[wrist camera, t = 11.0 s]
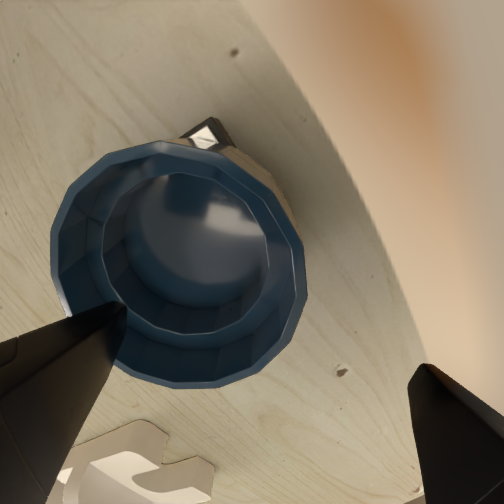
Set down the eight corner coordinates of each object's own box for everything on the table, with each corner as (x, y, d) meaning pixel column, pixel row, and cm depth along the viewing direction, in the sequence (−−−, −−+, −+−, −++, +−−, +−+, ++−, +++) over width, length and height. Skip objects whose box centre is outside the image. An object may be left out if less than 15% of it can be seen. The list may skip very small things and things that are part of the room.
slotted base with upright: (220, 469, 26) (208, 565, 16) (119, 493, 30) (99, 557, 20) (143, 416, 23) (105, 523, 13) (59, 452, 28) (27, 517, 18)
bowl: (334, 221, 15) (364, 264, 10) (219, 351, 17) (206, 419, 13) (169, 100, 13) (123, 87, 8) (80, 255, 16) (26, 299, 11)
